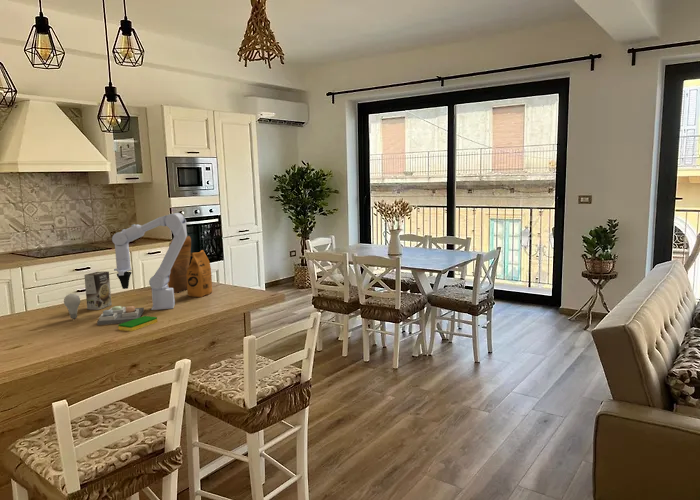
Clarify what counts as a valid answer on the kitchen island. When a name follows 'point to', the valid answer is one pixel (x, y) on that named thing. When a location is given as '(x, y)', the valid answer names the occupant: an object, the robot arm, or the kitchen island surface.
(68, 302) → the lightbulb
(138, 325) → the dish sponge
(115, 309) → the sage button
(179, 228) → the robot arm
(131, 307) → the terracotta button
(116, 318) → the button panel
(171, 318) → the kitchen island surface
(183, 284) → the pancake mix bag
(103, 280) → the coffee box
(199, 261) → the coffee package
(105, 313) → the slate button
